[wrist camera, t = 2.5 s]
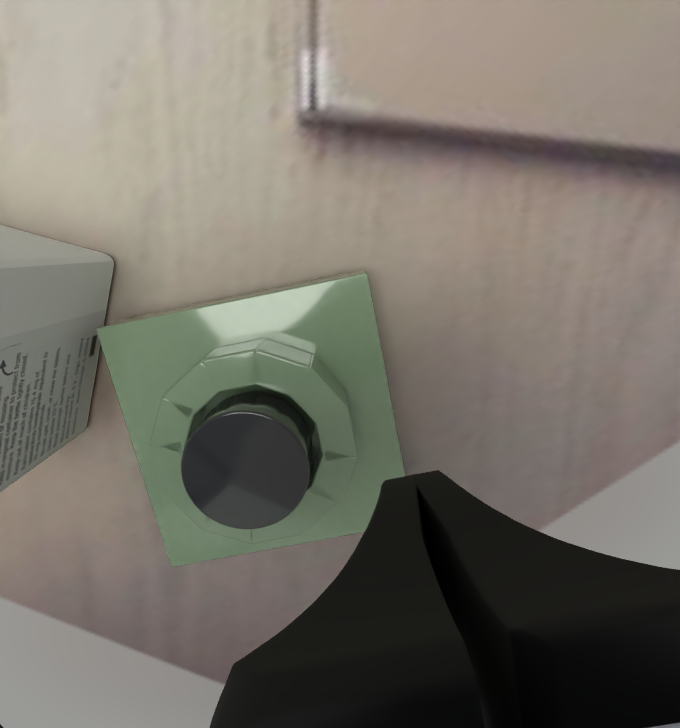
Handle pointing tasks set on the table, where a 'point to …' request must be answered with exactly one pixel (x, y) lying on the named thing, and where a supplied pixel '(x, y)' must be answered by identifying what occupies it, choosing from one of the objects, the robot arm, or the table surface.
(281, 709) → the robot arm
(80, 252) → the container
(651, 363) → the table surface
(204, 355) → the push button base
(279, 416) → the dark grey push button
